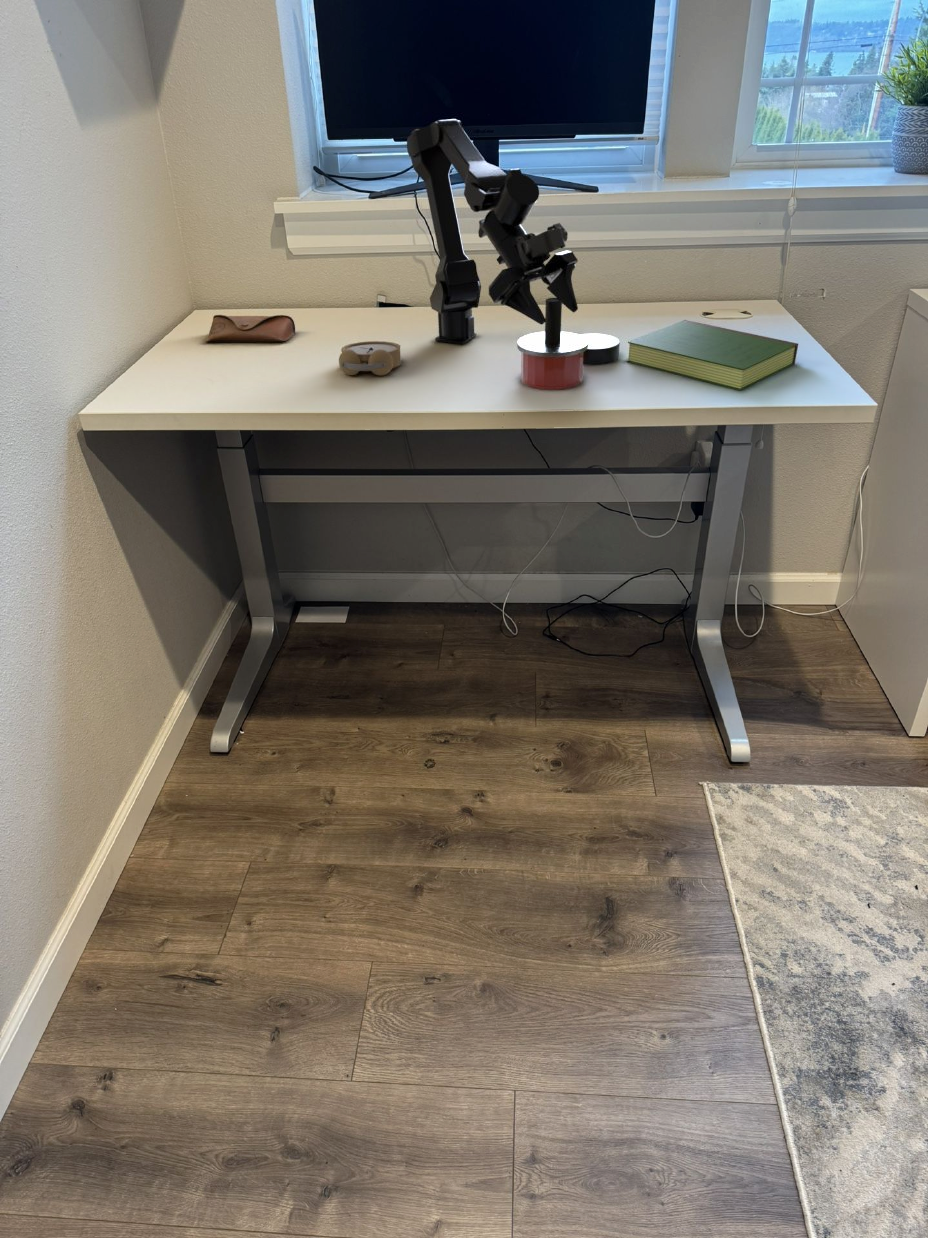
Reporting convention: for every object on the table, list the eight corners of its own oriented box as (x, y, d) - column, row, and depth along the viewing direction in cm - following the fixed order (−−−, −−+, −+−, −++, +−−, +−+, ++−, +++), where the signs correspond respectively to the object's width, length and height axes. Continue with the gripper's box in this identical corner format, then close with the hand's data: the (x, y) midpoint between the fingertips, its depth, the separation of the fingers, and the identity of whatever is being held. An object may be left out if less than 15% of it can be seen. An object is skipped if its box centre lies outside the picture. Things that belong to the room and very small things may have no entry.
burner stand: (558, 361, 167) (558, 345, 165) (577, 346, 174) (578, 330, 172) (607, 367, 163) (608, 351, 161) (625, 352, 170) (627, 336, 168)
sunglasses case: (202, 341, 182) (202, 309, 182) (214, 349, 189) (214, 318, 189) (286, 341, 181) (286, 308, 180) (295, 349, 188) (296, 318, 187)
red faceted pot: (511, 384, 156) (511, 351, 153) (536, 366, 164) (537, 334, 161) (568, 393, 152) (569, 359, 149) (591, 373, 160) (593, 341, 157)
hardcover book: (794, 363, 161) (798, 343, 159) (740, 390, 150) (743, 369, 148) (679, 338, 176) (681, 319, 174) (623, 360, 166) (624, 340, 163)
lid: (505, 351, 153) (504, 305, 148) (534, 332, 162) (535, 287, 157) (572, 360, 148) (573, 312, 143) (598, 340, 157) (601, 294, 152)
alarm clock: (405, 340, 170) (390, 350, 157) (406, 367, 172) (391, 378, 159) (349, 340, 171) (329, 350, 158) (350, 366, 174) (331, 378, 160)
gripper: (501, 217, 139) (554, 299, 139) (571, 200, 150) (620, 275, 150) (465, 263, 148) (516, 340, 148) (534, 243, 159) (581, 315, 159)
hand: (560, 316), depth 151 cm, fingers open, 9 cm apart
